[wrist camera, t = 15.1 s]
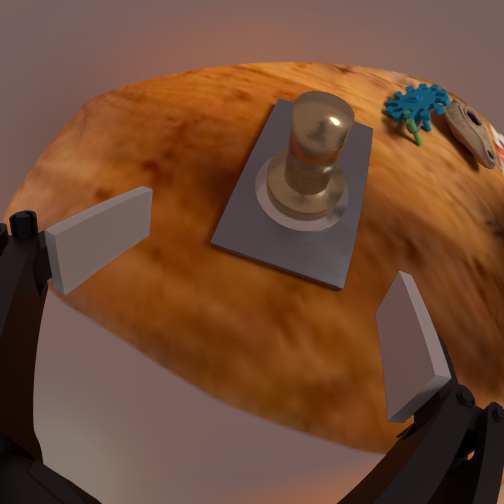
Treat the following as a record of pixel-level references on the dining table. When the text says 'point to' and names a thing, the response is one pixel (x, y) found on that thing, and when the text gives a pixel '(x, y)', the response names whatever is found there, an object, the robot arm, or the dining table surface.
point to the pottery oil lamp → (470, 132)
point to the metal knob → (311, 158)
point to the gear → (417, 107)
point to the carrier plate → (285, 228)
